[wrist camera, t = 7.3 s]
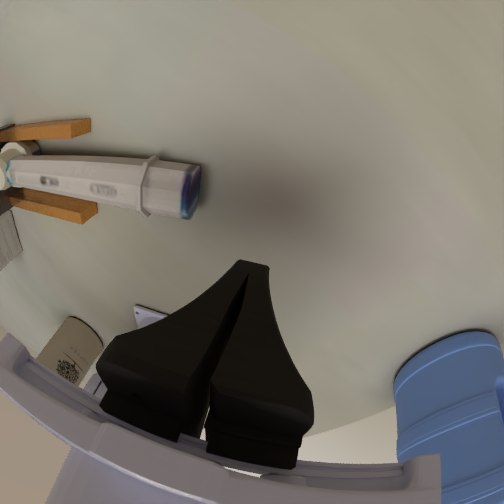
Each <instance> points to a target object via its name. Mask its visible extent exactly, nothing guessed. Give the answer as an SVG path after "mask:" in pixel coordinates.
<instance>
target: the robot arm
mask: <svg viewBox="0 0 504 504" xmlns="http://www.w3.org/2000/svg"><path fill="white" fill-rule="evenodd" d="M269 269H270V268H269V267H268V266H266V265H262V264H258V263H253V262H249V261H245V260H238V261H237V262H236V263H235V264H234V265H233V266H232V267H231V268H230V269H229V270H228V271H227V272H226V273H225V274H224V275H223V276H222V277H221V278H220V279H219V280H218V281H217V282H216V283H215V284H214V285H212V286H211V287H210V288H209V289H208V290H206V291H205V292H204V293H202V294H201V295H200V296H199V297H197V298H196V299H195V300H193V301H192V302H190V303H189V304H187V305H186V306H184V307H183V308H181V309H179V310H177V311H176V312H174V313H172V314H170V315H169V316H168V315H165V314H162V313H158V312H155V311H152V310H149V309H147V308H144V307H141V306H138V305H135V306H134V308H133V309H134V314H135V318H136V322H137V326H138V327H137V329H136V330H134V331H131V332H128V333H124V334H121V335H118V336H116V337H115V338H114V339H113V340H112V341H111V342H110V344H109V345H108V346H107V348H106V349H105V351H104V352H103V354H102V355H101V357H100V358H99V360H98V361H97V363H96V370H97V372H98V373H96V374H93V376H92V377H91V378H90V380H89V381H88V383H87V384H86V386H85V387H84V389H82V388H80V387H78V386H77V385H75V384H73V383H72V382H70V381H68V380H67V379H65V378H63V377H62V376H60V375H59V374H57V373H56V372H54V371H52V370H51V369H49V368H48V367H46V366H45V365H44V364H42V363H41V362H39V361H38V360H36V359H35V358H34V357H32V356H31V355H30V353H29V351H28V350H27V349H26V347H25V346H24V345H23V344H22V343H21V342H20V341H19V340H17V339H16V338H15V337H14V336H12V335H11V334H10V333H7V334H6V336H5V337H4V338H3V339H2V340H1V342H0V390H1V391H2V392H3V393H4V394H5V395H6V396H7V397H8V398H10V399H11V400H12V401H13V402H14V403H15V404H16V405H17V406H18V407H20V408H21V409H22V410H23V411H24V412H25V413H27V414H28V415H29V416H30V417H31V418H33V419H34V420H35V421H36V422H38V423H39V424H40V425H41V426H43V427H44V428H46V429H47V430H48V431H49V432H51V433H52V434H54V435H55V436H56V437H58V438H59V439H61V440H62V441H64V442H66V443H67V444H68V445H70V446H71V447H72V448H71V450H70V452H69V454H68V456H67V458H66V460H65V462H64V464H63V466H62V468H61V470H60V473H59V475H58V477H57V479H56V481H55V483H54V486H53V488H52V490H51V492H50V494H49V497H48V499H47V501H46V504H441V460H440V454H439V453H437V454H430V455H421V456H416V457H413V458H410V459H408V460H406V461H405V462H403V463H388V464H341V463H340V464H339V463H324V462H311V461H302V460H297V456H298V449H299V448H300V447H301V443H302V437H303V435H304V434H305V433H306V432H307V431H308V430H309V429H310V428H311V427H312V426H313V424H314V407H313V400H312V394H311V391H310V389H309V388H308V387H307V385H306V384H305V382H304V380H303V379H302V377H301V376H300V374H299V372H298V370H297V369H296V367H295V365H294V363H293V361H292V359H291V357H290V355H289V353H288V351H287V349H286V347H285V344H284V342H283V339H282V337H281V334H280V331H279V328H278V325H277V322H276V318H275V315H274V311H273V306H272V301H271V296H270V289H269ZM209 405H210V410H209V413H208V416H207V419H206V421H205V418H206V415H207V412H208V408H209ZM204 422H205V424H204ZM203 425H204V428H205V432H206V441H204V440H201V439H200V436H201V432H202V429H203ZM223 466H225V467H229V468H233V469H238V470H242V471H247V472H253V473H257V474H263V475H261V476H260V478H258V477H254V476H250V475H246V474H242V473H238V472H235V471H231V470H228V469H225V468H224V467H223Z"/></svg>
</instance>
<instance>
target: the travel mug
mask: <svg viewBox="0 0 504 504" xmlns="http://www.w3.org/2000/svg"><path fill="white" fill-rule="evenodd" d="M102 348H103V347H102V343H101V341H100V339H99V337H98V336H97V335H96V334H95V332H94V331H93V330H92V329H91V328H90V327H89V326H87V325H86V324H85V323H83V322H82V321H80V320H78V319H76V318H72V317H68V318H67V319H66V320H65V321H64V323H63V324H62V325H61V326H60V328H59V329H58V330H57V332H56V333H55V334H54V335H53V337H52V338H51V339H50V341H49V342H48V343H47V345H46V346H45V347H44V349H43V350H42V351H41V353H40V354H39V356H38V357H37V358H36V360H38V361H39V362H41V363H42V364H44V365H45V366H46V367H48V368H49V369H51V370H52V371H54V372H56V373H57V374H59V375H60V376H62V377H63V378H65V379H67V380H68V381H70V382H72V383H73V384H75V385H77V386H79V384H80V383H81V381H82V380H83V378H84V376H85V375H86V373H87V372H88V370H89V369H90V367H91V365H92V364H93V362H94V361H95V359H96V358H97V356H98V355H99V353H100V351H101V350H102Z"/></svg>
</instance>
